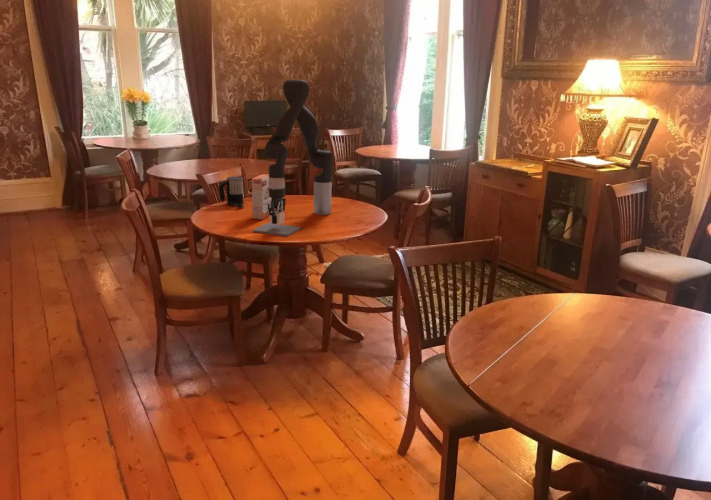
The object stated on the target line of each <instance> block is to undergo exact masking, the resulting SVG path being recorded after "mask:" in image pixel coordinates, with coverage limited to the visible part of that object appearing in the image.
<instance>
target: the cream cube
mask: <svg viewBox="0 0 711 500" xmlns="http://www.w3.org/2000/svg"><path fill="white" fill-rule="evenodd" d="M269 223H270V224H273V223H272V216H271V215H269ZM284 223H285V211H283V212H279V211H278V212H277V223H276V225H280V224H281V225H283V224H284Z"/></svg>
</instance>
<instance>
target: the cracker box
mask: <svg viewBox="0 0 711 500" xmlns="http://www.w3.org/2000/svg"><path fill="white" fill-rule="evenodd" d="M268 182H269V174H264V173H263V174H260V175H258V176H255V177H253V178H251V198H252V200H251V202H252V203H251V204H252V206H251V207H252V208H251V210H252V219H253V220H261V221H262V220H264V219H266V218H267V217H270V215H269V211H268V203H269V204H270V203H271V197H269V184H268Z"/></svg>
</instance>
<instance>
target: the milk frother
mask: <svg viewBox="0 0 711 500" xmlns="http://www.w3.org/2000/svg"><path fill="white" fill-rule="evenodd" d="M243 181H244V177H242V176H228V177H226V180H223V181H221V182H220V183H219V184H218V192H219V193H218V194H219V199H220V201H221V202H225V192H224V191H225V190H224V189H225V188H224V187H225V186H226V202H227V203H226V204H227V205H228V206H236V207H237V208H239V209H241V208H244V207H245V205H244V204H245V202H244V186H243V185H244V182H243Z"/></svg>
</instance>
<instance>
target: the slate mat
mask: <svg viewBox="0 0 711 500" xmlns="http://www.w3.org/2000/svg"><path fill="white" fill-rule="evenodd" d="M300 230H302V227H301V226H295V225H287V224H280V225H276V224H270V222H266V223H264V224H262V225H261V226H258V227H256V228H254V229H252V231H253V232H252V233H258V232H259V233H258V234H267V235H273V236H274V235H275V236H281V237H287V238H288V237H290V236H291V235H294V234H295V233H297V232H298V231H300Z"/></svg>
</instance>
